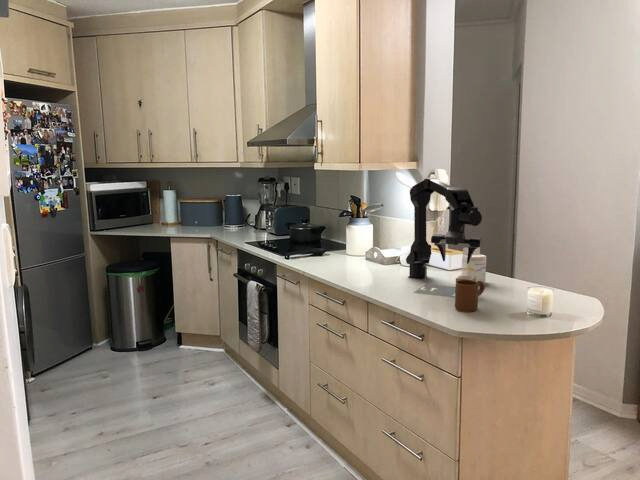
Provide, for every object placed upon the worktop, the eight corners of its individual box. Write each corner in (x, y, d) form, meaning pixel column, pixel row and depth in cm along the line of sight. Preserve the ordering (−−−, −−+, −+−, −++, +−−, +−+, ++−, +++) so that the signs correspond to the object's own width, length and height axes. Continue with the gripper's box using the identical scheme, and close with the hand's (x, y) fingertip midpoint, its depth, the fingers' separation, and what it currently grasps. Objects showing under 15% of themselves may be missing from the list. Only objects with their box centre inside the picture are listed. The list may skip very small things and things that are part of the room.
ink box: (467, 285, 212) (468, 249, 210) (460, 282, 217) (461, 247, 215) (486, 283, 215) (487, 248, 212) (479, 281, 219) (480, 246, 217)
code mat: (413, 293, 202) (413, 292, 202) (426, 284, 215) (426, 283, 215) (470, 300, 191) (470, 299, 191) (481, 290, 205) (481, 289, 205)
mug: (475, 303, 187) (476, 277, 186) (491, 308, 181) (492, 281, 179) (450, 308, 181) (450, 281, 180) (466, 313, 175) (467, 286, 173)
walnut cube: (455, 294, 199) (455, 278, 198) (459, 290, 204) (460, 275, 203) (471, 295, 196) (471, 280, 195) (475, 292, 201) (475, 276, 200)
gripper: (426, 223, 197) (425, 264, 200) (477, 227, 188) (475, 269, 191) (436, 219, 207) (434, 258, 210) (484, 223, 198) (482, 263, 201)
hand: (455, 262), depth 202 cm, fingers open, 9 cm apart
